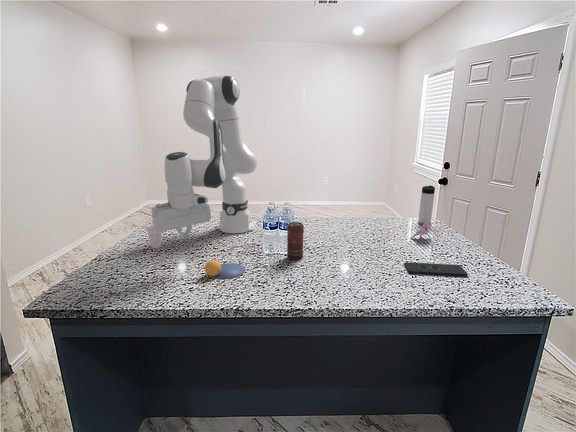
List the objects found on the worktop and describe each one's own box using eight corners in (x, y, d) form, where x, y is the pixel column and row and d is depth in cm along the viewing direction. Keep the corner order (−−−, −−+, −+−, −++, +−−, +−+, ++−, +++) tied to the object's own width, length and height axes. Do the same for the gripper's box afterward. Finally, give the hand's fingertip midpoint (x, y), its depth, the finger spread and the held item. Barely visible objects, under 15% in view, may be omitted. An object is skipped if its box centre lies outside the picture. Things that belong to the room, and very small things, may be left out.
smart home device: (404, 261, 128) (459, 264, 125) (403, 265, 128) (459, 268, 126) (409, 270, 120) (468, 274, 117) (408, 275, 120) (467, 278, 118)
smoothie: (146, 249, 140) (142, 217, 136) (149, 244, 146) (146, 213, 142) (162, 249, 141) (159, 216, 137) (165, 243, 147) (162, 212, 143)
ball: (213, 276, 120) (206, 262, 120) (226, 270, 119) (219, 255, 119) (206, 280, 115) (199, 266, 115) (219, 274, 113) (212, 259, 113)
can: (302, 261, 130) (302, 226, 126) (285, 260, 131) (286, 225, 127) (304, 255, 136) (305, 222, 132) (289, 254, 137) (289, 221, 133)
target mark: (216, 262, 128) (216, 261, 128) (249, 265, 126) (249, 264, 126) (202, 277, 116) (202, 276, 116) (238, 280, 114) (238, 280, 114)
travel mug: (432, 223, 181) (437, 186, 176) (427, 225, 176) (432, 188, 171) (421, 220, 185) (425, 184, 180) (416, 223, 181) (420, 186, 175)
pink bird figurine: (434, 239, 160) (427, 220, 161) (447, 237, 148) (439, 216, 149) (411, 247, 159) (404, 228, 160) (423, 246, 147) (414, 226, 148)
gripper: (154, 207, 108) (159, 247, 112) (211, 197, 121) (214, 233, 125) (147, 203, 113) (152, 242, 117) (203, 194, 126) (206, 229, 130)
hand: (185, 237), depth 121 cm, fingers closed
